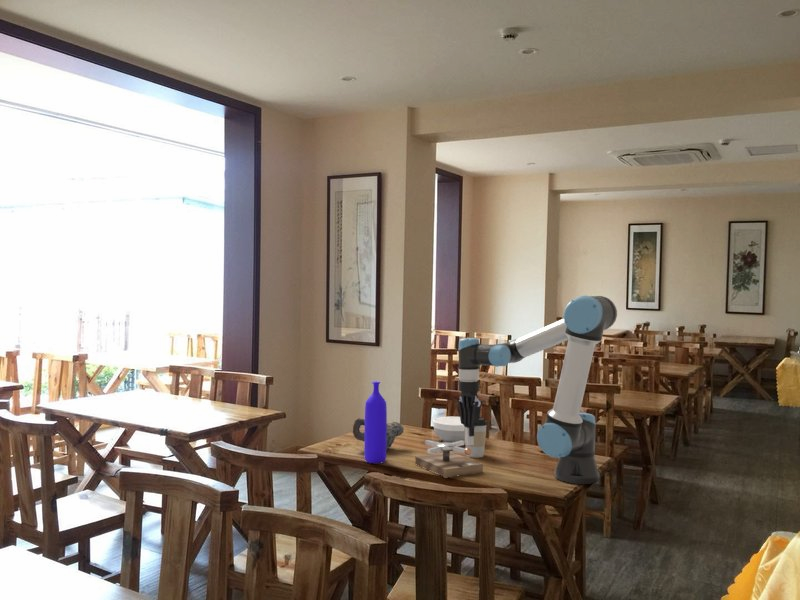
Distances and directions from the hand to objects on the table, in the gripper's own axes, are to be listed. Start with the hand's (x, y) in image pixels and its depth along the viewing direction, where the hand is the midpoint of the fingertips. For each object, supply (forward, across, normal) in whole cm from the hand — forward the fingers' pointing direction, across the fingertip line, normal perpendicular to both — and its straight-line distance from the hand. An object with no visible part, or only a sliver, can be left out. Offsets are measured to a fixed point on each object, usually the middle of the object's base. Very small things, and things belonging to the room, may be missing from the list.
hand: (469, 444), depth 249 cm
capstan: (+1, +2, +8) cm, 9 cm away
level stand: (+8, +3, +8) cm, 12 cm away
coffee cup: (+8, +14, -12) cm, 20 cm away
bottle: (+8, +24, +27) cm, 36 cm away
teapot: (+7, +40, +17) cm, 44 cm away
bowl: (+8, +37, -19) cm, 43 cm away
